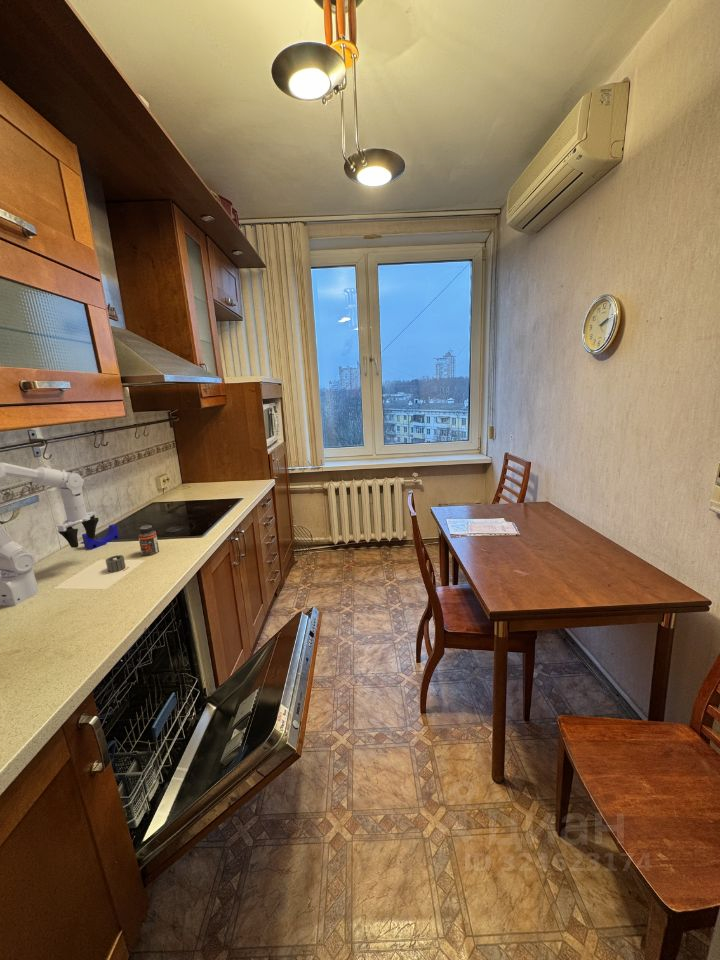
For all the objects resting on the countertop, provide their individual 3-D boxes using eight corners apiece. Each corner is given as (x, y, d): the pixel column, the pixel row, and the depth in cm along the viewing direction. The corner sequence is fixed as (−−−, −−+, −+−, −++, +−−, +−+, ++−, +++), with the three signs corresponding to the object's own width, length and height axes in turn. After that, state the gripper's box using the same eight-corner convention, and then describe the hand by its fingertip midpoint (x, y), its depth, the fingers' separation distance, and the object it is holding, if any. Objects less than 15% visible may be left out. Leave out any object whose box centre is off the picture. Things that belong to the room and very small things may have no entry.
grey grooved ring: (118, 572, 129) (116, 562, 128) (104, 572, 130) (102, 561, 129) (128, 565, 134) (126, 555, 133) (115, 565, 135) (112, 555, 134)
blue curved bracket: (91, 550, 151) (88, 536, 149) (85, 548, 153) (81, 534, 151) (121, 538, 161) (118, 525, 159) (115, 537, 163) (112, 524, 161)
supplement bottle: (140, 559, 141) (134, 530, 138) (144, 552, 146) (139, 525, 143) (157, 556, 142) (152, 528, 139) (161, 550, 148) (156, 523, 145)
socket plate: (106, 591, 119) (103, 577, 118) (53, 590, 121) (49, 577, 119) (146, 561, 138) (143, 549, 137) (100, 561, 140) (97, 549, 139)
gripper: (68, 513, 123) (77, 551, 126) (101, 499, 137) (108, 534, 140) (48, 513, 124) (58, 551, 127) (83, 499, 137) (91, 534, 141)
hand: (83, 542), depth 134 cm, fingers open, 7 cm apart
